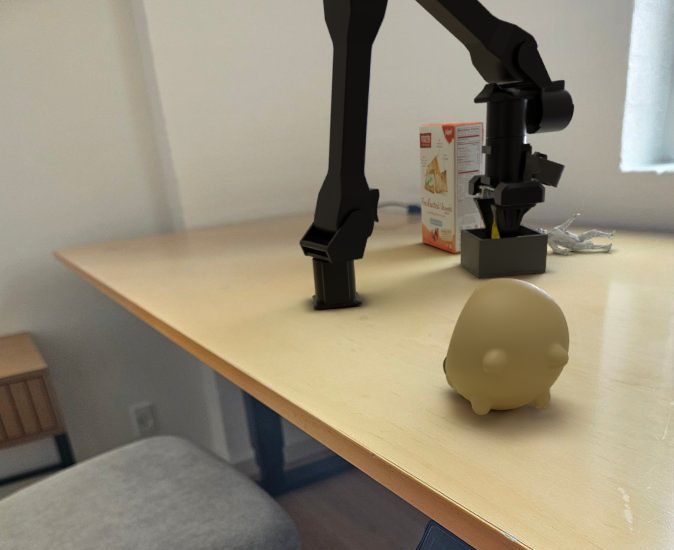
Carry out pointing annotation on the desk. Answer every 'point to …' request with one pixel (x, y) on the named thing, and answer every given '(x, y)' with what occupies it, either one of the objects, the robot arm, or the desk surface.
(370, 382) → the desk surface
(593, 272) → the desk surface
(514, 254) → the basket
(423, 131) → the cracker box
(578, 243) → the soldier figure
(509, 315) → the toy pig
